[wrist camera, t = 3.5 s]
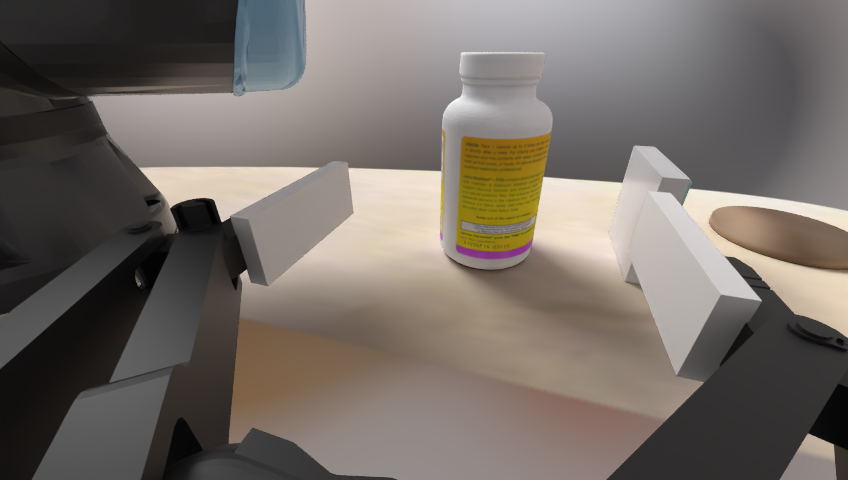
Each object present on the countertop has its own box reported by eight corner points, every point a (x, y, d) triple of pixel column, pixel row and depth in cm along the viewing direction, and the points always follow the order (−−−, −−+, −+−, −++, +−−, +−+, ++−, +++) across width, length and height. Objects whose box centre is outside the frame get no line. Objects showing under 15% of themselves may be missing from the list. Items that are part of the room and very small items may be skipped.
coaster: (738, 257, 24) (742, 249, 24) (692, 207, 31) (695, 201, 31) (906, 278, 22) (913, 271, 21) (814, 219, 29) (817, 213, 29)
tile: (624, 282, 22) (662, 177, 18) (607, 232, 27) (634, 145, 24) (651, 286, 21) (694, 180, 18) (628, 234, 27) (658, 147, 24)
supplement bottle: (550, 259, 24) (594, 51, 18) (471, 284, 21) (489, 53, 15) (493, 221, 29) (511, 51, 23) (424, 238, 27) (423, 52, 20)
